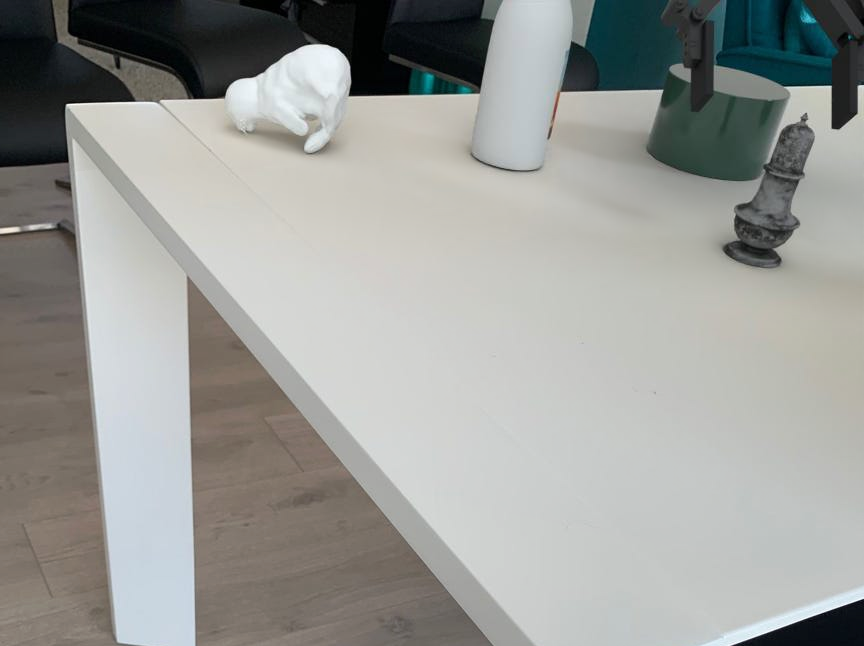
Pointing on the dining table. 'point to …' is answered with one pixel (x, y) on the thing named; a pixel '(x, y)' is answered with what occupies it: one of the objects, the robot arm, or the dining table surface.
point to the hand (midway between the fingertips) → (774, 113)
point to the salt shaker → (772, 201)
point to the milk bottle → (522, 83)
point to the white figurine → (295, 94)
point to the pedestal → (718, 124)
